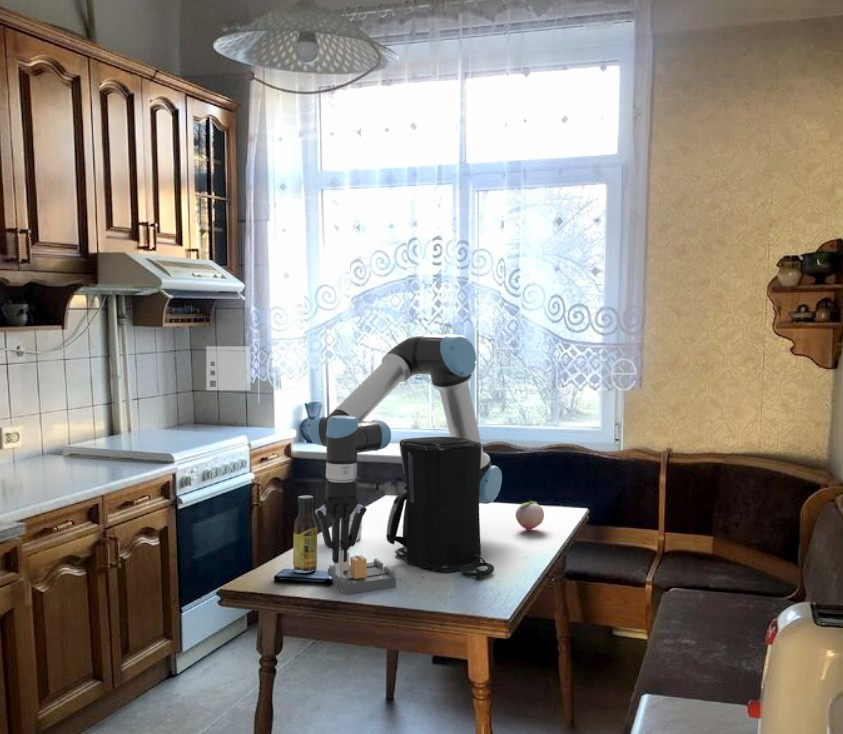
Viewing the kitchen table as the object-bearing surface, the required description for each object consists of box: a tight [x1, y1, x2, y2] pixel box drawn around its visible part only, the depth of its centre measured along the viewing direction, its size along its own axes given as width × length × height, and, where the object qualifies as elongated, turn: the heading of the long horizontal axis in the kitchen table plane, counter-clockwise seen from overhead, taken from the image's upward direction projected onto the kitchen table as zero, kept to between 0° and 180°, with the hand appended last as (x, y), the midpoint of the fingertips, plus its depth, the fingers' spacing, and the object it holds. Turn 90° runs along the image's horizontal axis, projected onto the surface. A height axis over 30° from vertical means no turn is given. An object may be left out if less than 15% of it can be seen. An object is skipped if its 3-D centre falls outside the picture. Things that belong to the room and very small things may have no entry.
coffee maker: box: [385, 436, 495, 581], centre depth 218 cm, size 23×32×34 cm
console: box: [327, 558, 397, 596], centre depth 201 cm, size 14×13×4 cm
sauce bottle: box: [292, 494, 318, 571], centre depth 210 cm, size 7×6×20 cm
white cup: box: [340, 504, 363, 541], centre depth 241 cm, size 8×8×10 cm
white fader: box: [333, 550, 350, 571], centre depth 202 cm, size 4×3×5 cm
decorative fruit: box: [515, 498, 545, 532], centre depth 249 cm, size 9×8×10 cm
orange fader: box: [349, 554, 368, 579], centre depth 197 cm, size 4×3×5 cm
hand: (339, 575), depth 195 cm, fingers closed
